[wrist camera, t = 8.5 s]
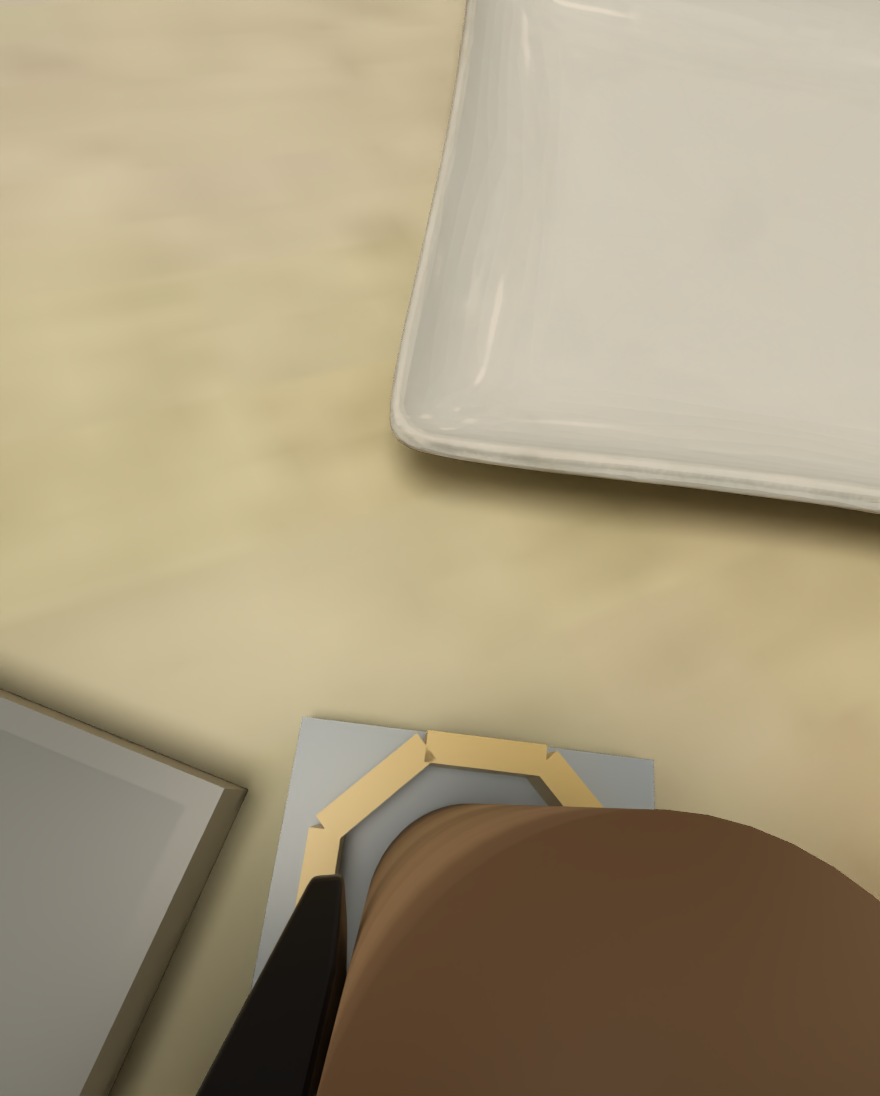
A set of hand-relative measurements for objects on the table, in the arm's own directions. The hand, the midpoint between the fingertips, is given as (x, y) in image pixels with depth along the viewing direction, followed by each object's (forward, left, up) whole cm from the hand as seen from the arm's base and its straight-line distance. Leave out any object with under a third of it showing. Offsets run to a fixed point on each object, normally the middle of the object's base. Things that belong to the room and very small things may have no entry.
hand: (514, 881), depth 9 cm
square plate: (-5, -25, -9) cm, 27 cm away
